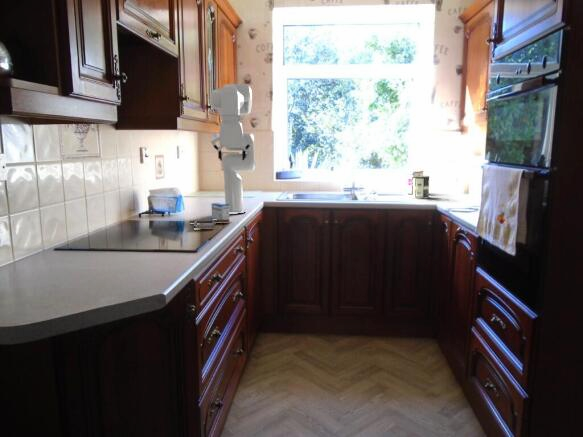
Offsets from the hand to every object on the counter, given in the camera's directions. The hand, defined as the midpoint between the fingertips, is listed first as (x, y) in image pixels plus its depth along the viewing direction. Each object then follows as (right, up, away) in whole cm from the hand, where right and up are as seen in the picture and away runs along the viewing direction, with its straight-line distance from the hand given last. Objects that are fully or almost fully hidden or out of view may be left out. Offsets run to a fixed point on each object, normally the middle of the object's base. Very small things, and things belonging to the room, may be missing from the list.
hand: (232, 160), depth 194 cm
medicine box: (-9, -27, +23) cm, 36 cm away
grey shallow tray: (-14, -29, +8) cm, 33 cm away
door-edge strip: (-13, -28, +15) cm, 34 cm away
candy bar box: (+113, -8, +124) cm, 168 cm away
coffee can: (+111, -11, +103) cm, 152 cm away
